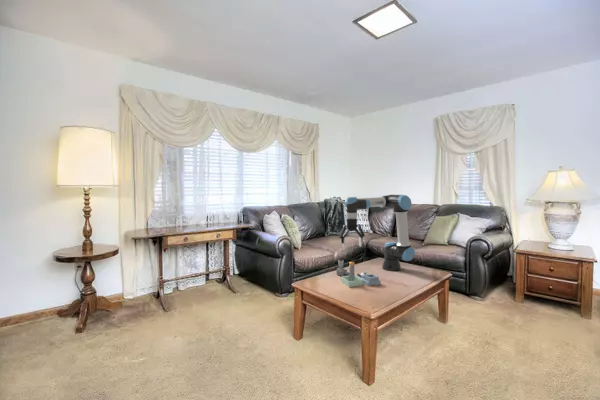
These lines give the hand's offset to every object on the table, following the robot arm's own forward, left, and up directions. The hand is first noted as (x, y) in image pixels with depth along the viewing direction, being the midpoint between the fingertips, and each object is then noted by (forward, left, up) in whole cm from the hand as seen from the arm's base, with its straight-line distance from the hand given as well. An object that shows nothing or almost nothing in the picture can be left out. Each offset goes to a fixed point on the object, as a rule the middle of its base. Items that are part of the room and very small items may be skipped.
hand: (352, 247), depth 213 cm
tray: (0, 0, -27) cm, 27 cm away
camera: (-3, -18, -28) cm, 33 cm away
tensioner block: (-13, 0, -27) cm, 30 cm away
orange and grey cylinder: (0, 0, -26) cm, 26 cm away
